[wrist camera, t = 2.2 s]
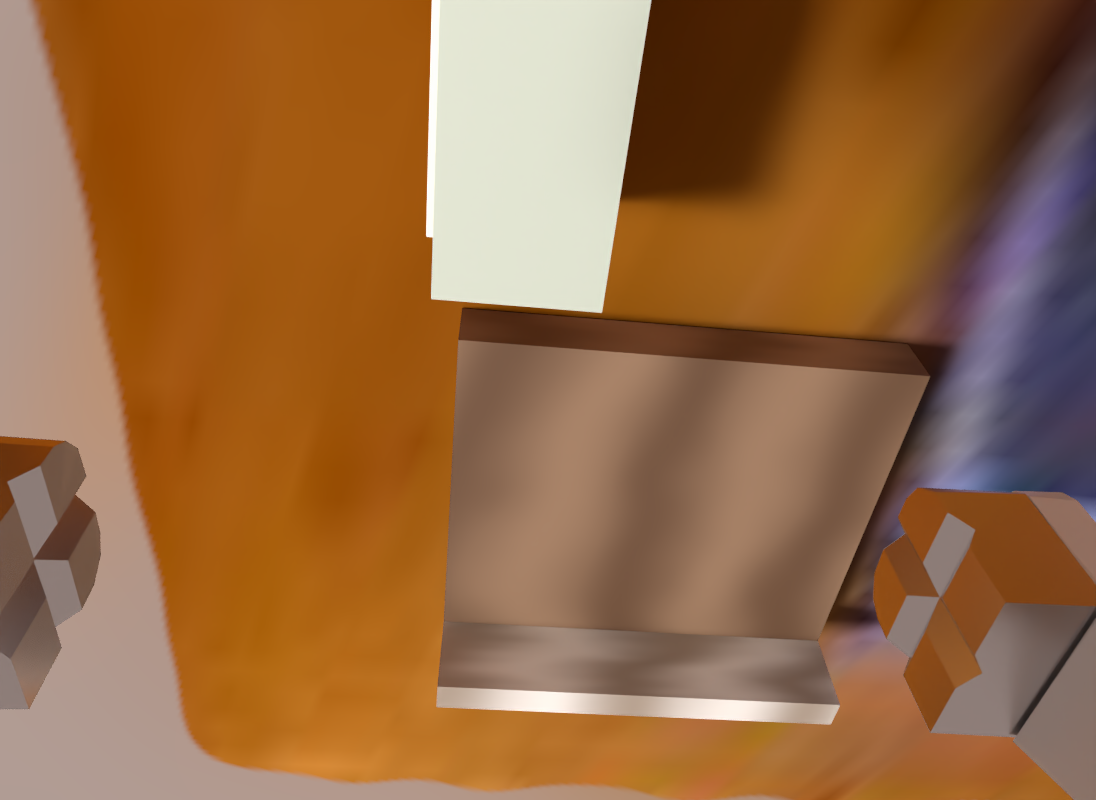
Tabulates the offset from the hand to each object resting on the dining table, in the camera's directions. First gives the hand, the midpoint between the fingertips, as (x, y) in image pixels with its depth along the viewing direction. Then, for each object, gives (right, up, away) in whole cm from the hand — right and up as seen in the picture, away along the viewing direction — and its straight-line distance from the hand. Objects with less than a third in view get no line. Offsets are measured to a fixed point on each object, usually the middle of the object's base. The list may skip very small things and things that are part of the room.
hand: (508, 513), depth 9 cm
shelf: (+4, -2, +24) cm, 24 cm away
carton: (0, +11, +15) cm, 18 cm away
